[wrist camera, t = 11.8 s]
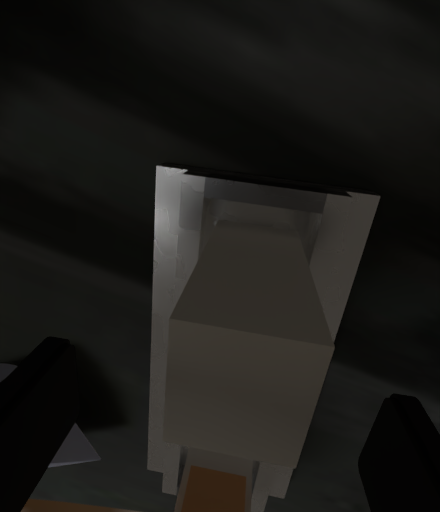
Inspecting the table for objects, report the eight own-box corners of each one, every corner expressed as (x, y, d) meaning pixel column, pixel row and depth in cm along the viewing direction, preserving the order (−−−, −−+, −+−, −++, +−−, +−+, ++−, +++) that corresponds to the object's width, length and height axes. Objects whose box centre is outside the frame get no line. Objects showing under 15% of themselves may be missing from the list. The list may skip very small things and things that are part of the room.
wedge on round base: (68, 343, 25) (-47, 373, 28) (4, 414, 19) (-134, 442, 22) (119, 422, 28) (10, 442, 31) (78, 507, 22) (-53, 520, 25)
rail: (153, 452, 29) (141, 487, 26) (164, 162, 18) (146, 169, 16) (282, 480, 28) (285, 518, 25) (371, 190, 17) (391, 202, 15)
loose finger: (208, 303, 20) (161, 452, 11) (218, 219, 18) (169, 318, 9) (278, 314, 20) (291, 480, 10) (297, 231, 17) (335, 347, 8)
